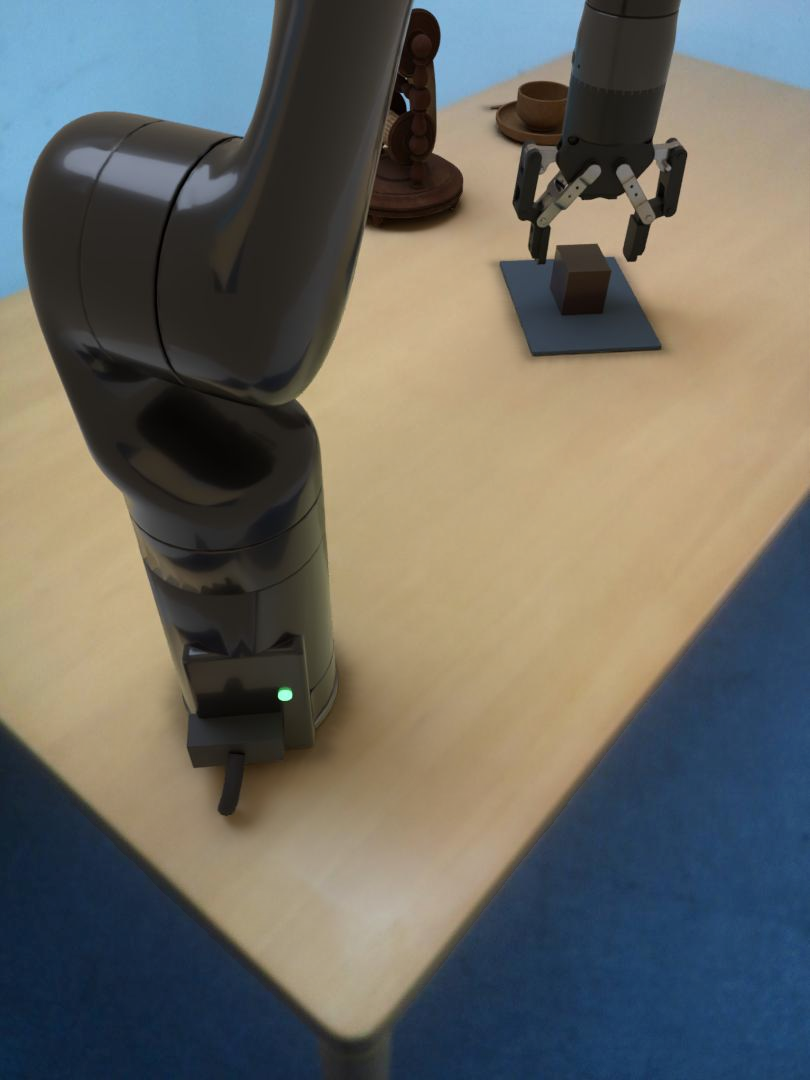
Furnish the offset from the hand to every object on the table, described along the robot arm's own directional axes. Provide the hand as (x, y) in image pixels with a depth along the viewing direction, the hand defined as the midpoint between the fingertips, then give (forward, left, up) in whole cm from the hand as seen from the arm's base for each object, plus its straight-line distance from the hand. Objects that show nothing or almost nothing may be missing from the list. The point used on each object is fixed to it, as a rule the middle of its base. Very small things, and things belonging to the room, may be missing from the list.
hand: (584, 259), depth 80 cm
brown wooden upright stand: (+23, +15, -5) cm, 28 cm away
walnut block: (0, 0, -5) cm, 5 cm away
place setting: (+42, -10, -5) cm, 44 cm away
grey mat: (0, 0, -5) cm, 5 cm away
